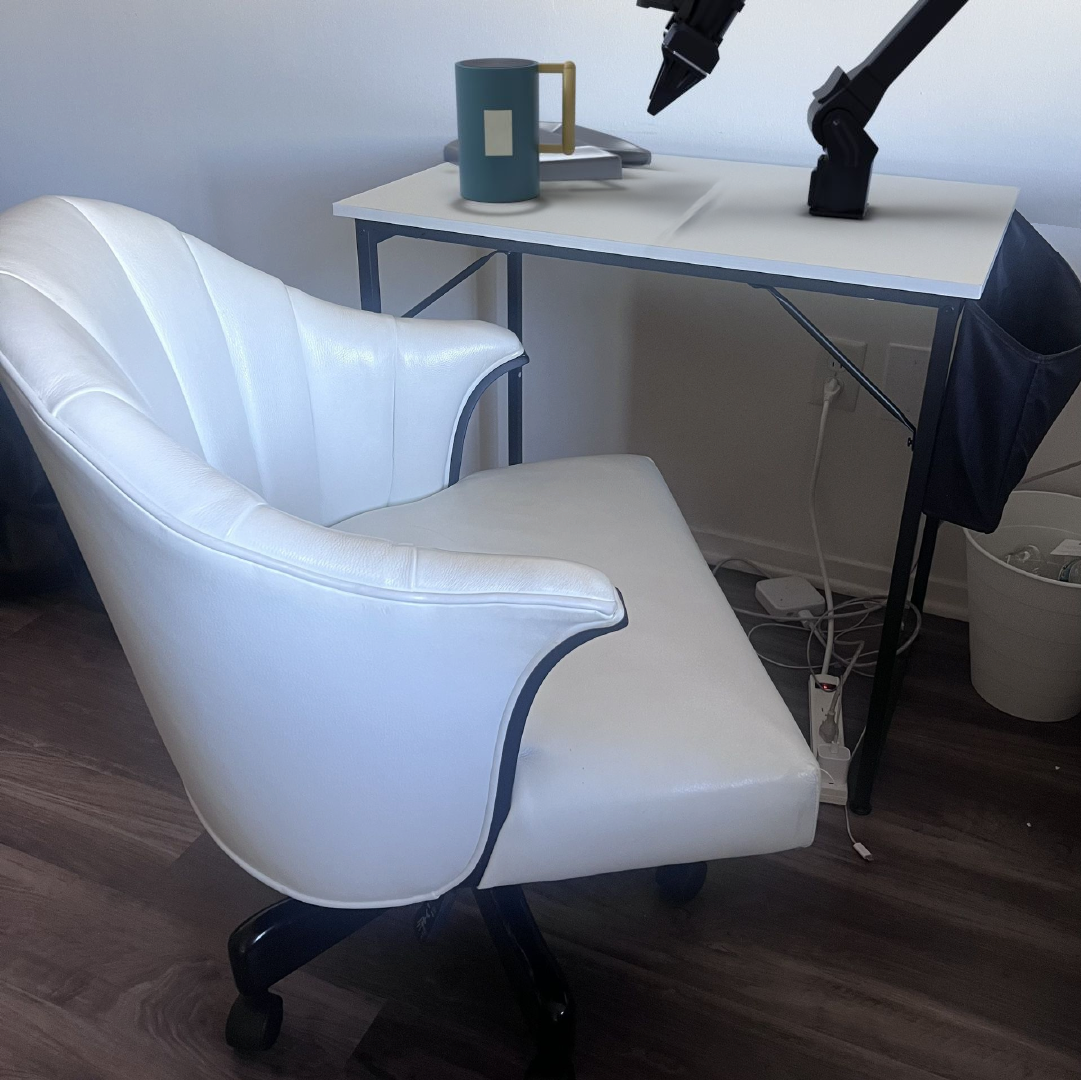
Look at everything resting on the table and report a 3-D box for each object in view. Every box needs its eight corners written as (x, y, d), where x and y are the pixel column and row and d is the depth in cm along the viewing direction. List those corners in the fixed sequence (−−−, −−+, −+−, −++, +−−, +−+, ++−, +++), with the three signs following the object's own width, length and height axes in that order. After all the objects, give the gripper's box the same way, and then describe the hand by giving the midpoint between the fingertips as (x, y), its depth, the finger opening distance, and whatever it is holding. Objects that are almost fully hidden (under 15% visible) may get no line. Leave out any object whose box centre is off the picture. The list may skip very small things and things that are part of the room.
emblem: (676, 123, 149) (594, 158, 128) (674, 162, 152) (593, 202, 131) (507, 109, 161) (406, 139, 140) (508, 145, 163) (409, 180, 142)
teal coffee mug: (581, 190, 131) (583, 58, 123) (552, 209, 123) (552, 68, 115) (480, 181, 136) (475, 53, 128) (445, 199, 128) (438, 63, 120)
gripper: (669, -66, 122) (599, 59, 130) (667, -61, 106) (587, 80, 114) (746, -11, 124) (673, 108, 132) (756, 1, 108) (672, 136, 116)
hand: (651, 107), depth 123 cm, fingers open, 9 cm apart
